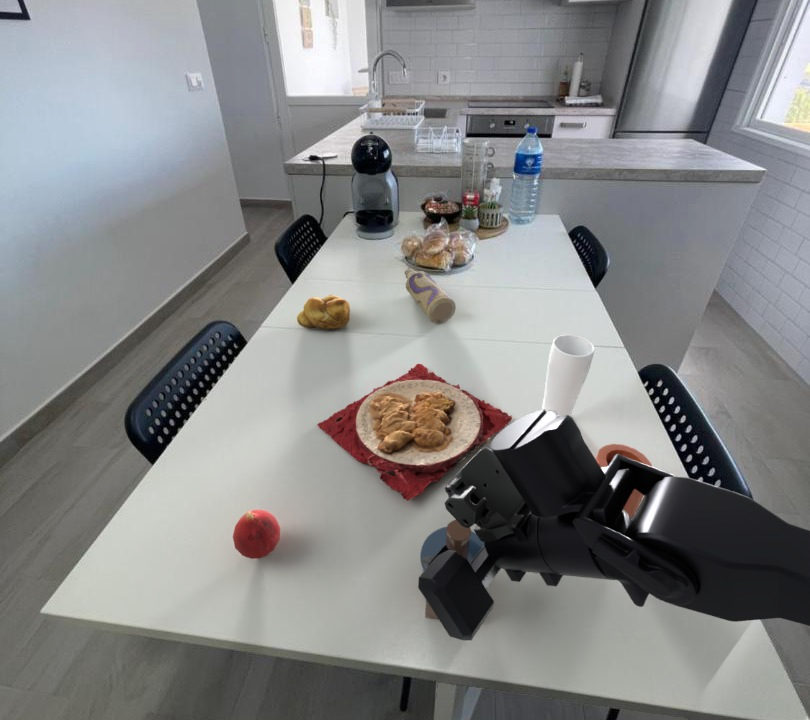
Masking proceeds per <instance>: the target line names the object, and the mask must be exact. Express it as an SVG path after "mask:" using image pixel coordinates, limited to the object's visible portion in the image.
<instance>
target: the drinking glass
mask: <svg viewBox="0 0 810 720" xmlns="http://www.w3.org/2000/svg"><path fill="white" fill-rule="evenodd" d="M595 349H596V348H595V345H594V344H593V342H592V341H590V340H588V339H587V338H584V337H583V336H579V335H575V334H561V335H559V336H556V337H555V338H554V339H553V341H552V344H551V347H550V350H549V356H548V360H547V366H546V377H545V384H544V393H543V400H542V405H541V409H545V410H546V411H551V410H552V411H555V412H556V413H557V414H558V416H559V417H562V416H566V415H569V416H571V417H572V415H573V413H574V409H575V407H576V404H577V401H578V399H579V396H580V394H581V391H582V389H583V387H584V384H585V382H586V379H587V377H588V374H589V372H590V369H591V366H592V363H593V360H594V354H595V351H596V350H595Z"/></svg>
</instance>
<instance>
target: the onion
mask: <svg viewBox="0 0 810 720" xmlns="http://www.w3.org/2000/svg"><path fill="white" fill-rule="evenodd" d="M233 529H234V530H233V533H232V539H233V540H232V541H233V544H234V549H235V550H236V551H237V552H238V553H239V554H240V555H241V556H242V557H245V558H249V559H251V560H255V559H256V560H257V559H261V558H265V557H267V556H269V554H271V553H272V552H273V551H275V549H276V547H277V546H278V544H279V542H280V540H281V527H280V524H279V522H278V519H277V518H276V517H275V515H273V514H272V513H270V512H269V511H267V510H263V509H252V510H248V511H246V513H245V514H243V515H242V516H241V517H240V518H239V519H238V521H237V522H236V524H235V525H234V528H233Z"/></svg>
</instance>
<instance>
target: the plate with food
mask: <svg viewBox="0 0 810 720" xmlns="http://www.w3.org/2000/svg"><path fill="white" fill-rule="evenodd" d="M407 371H408V372H407V373H405V374H403V375H401V376H399V377H398V378H396V379H394V380H393V379H392V380H388V381H386V382H385V383H384V384H383V385H382V386H378V387H374V388H373V389H372V391H371V392H370V393H368V394H365V395H364V396H363V397H361V398H360V399H358V400H356V401H353V402H352V403H351V402H350V403H349V404H348V405H346V406H345V408H343V409H340V410H338V411H337V412H334V413H333V414H332V415H330V416H329V417H328V418H327V419H324V420H323V421H321V422H318V423H316V425H317V426H318V427H319V429H321V430H322V431H323V432H324V433H325V434H326V435H329V436H330V437H331V439H332V440H333V441H334V442H335V443H336V444H337V445H339V446H340V447H341V448H342V449H344V451H346V452H347V453H348V454H350V456H351V457H353V458H354V459H355V460H356V461H358V462H359V463H361V464H367V465H369V466H372V467H374V468H376V470H375V471H376V472H378V473H379V474H380V476H379V480H380V481H382V482H383V483H384V484H385V485H386V486H387V487H389V488H390V489H391V490H393V491H396V492H397V493H401V496H402V498H403V499H404V500H405V501H409V500H412V499H413V498H415V497H417V496H418V495H420V494H422V493H423V492H424V491H425V489H426V487H428V485H430V484H431V483H438V481H440V479H442V477H443V476H444V475H445V474H446V473H448V472H449V471H450V470H453V468H455V467H456V466H457V465H458V464H459V463H460V462H463V461H464V460H465V459H466V456H464V457H462V456H463V455H464V454H465V453H467V452H468V451H469V450H470V449H471V448H474V449H473V450H470V453H475V452H476V451H477V452H478V449H480V448H481V446H483V445H484V444H485V443H489V441H490V440H491V438H492V436H493V435H496V434H498V433H499V432H501V431H502V430H503V429H504V428H506V427H507V426H508V425H509V424H510V422H511V421H512V419H513V417H512V415H509V414H508V413H507V412H505V411H502V410H501V408H497V407H494V406H493V405H491V404H490V403H489V402H487V403H486V402H485V400H484V399H483V400H481V399H480V398H478V397H476V396H474V395H472V394H470V392H468V391H467V390H465V389H464V390H463V389H461V387H460V384H455V385H454V384H451V383H449V382H447V381H446V380H445V379H444V378H443V377H441V376H438V375H436V373H435V372H434V371H432V372H429V369H428V368H427V367H426V366H425V365H423V364H422V363H417V364H415V365H414V367H410V369H408V370H407ZM340 418H341V419H340ZM338 419H340V420H338ZM461 457H462V458H461ZM387 472H394V475H392V474H389V473H387Z"/></svg>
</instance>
